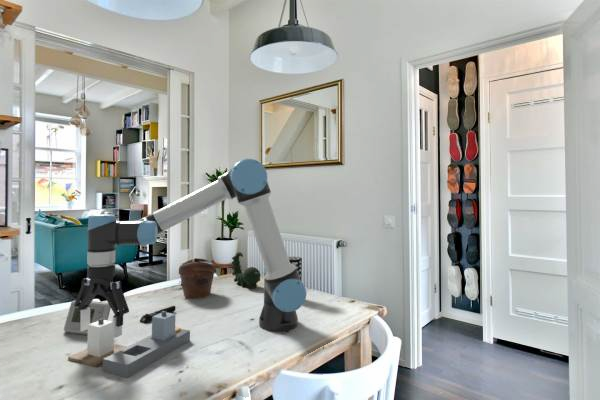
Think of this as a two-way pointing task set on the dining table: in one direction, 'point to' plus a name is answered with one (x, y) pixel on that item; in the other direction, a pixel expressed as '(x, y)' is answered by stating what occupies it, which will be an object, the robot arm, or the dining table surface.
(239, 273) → the toy figurine
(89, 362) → the walnut mat
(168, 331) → the block
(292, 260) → the white-spotted black cylinder
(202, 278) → the brown flower pot
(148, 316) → the electric trimmer
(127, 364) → the grey long flat block
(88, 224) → the robot arm
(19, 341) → the dining table surface
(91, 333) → the block
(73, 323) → the digital clock
